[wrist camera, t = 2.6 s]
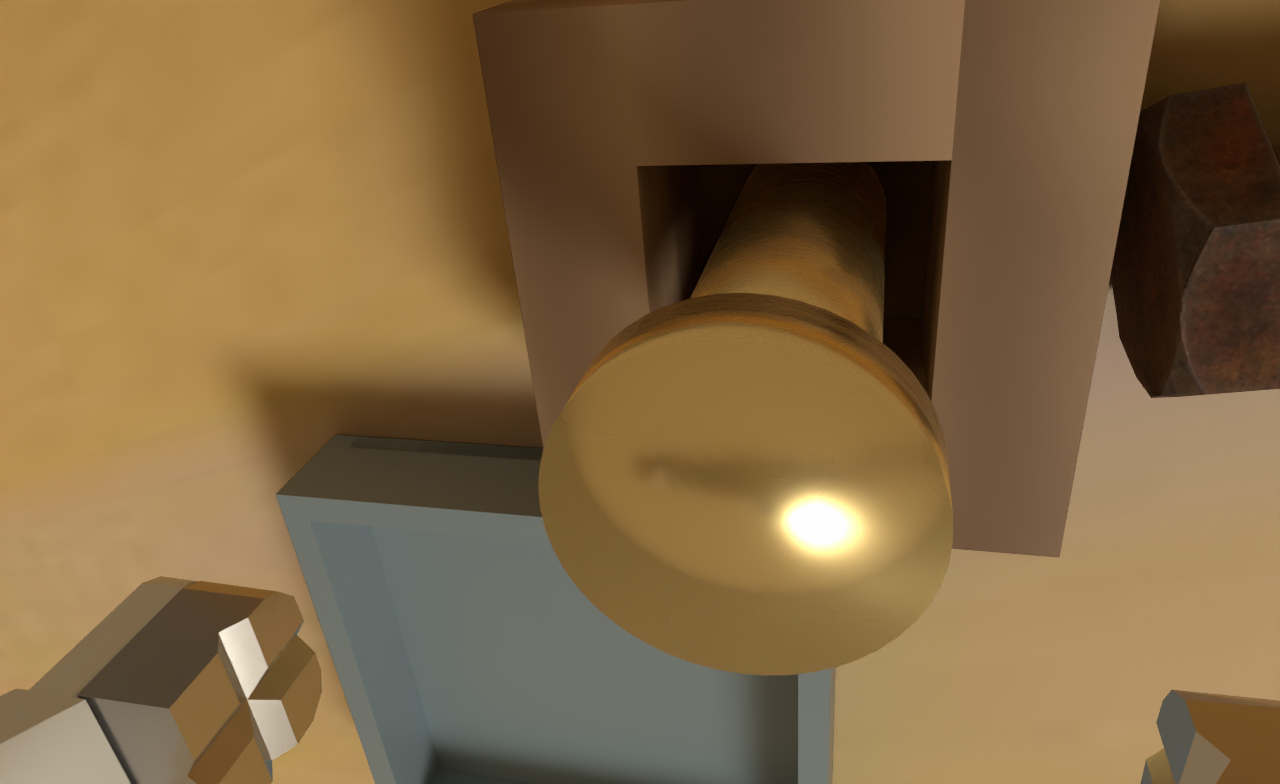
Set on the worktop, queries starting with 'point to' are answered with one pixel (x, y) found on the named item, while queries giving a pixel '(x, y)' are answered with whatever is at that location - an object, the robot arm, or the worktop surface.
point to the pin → (759, 447)
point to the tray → (513, 639)
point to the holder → (839, 132)
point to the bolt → (1201, 248)
